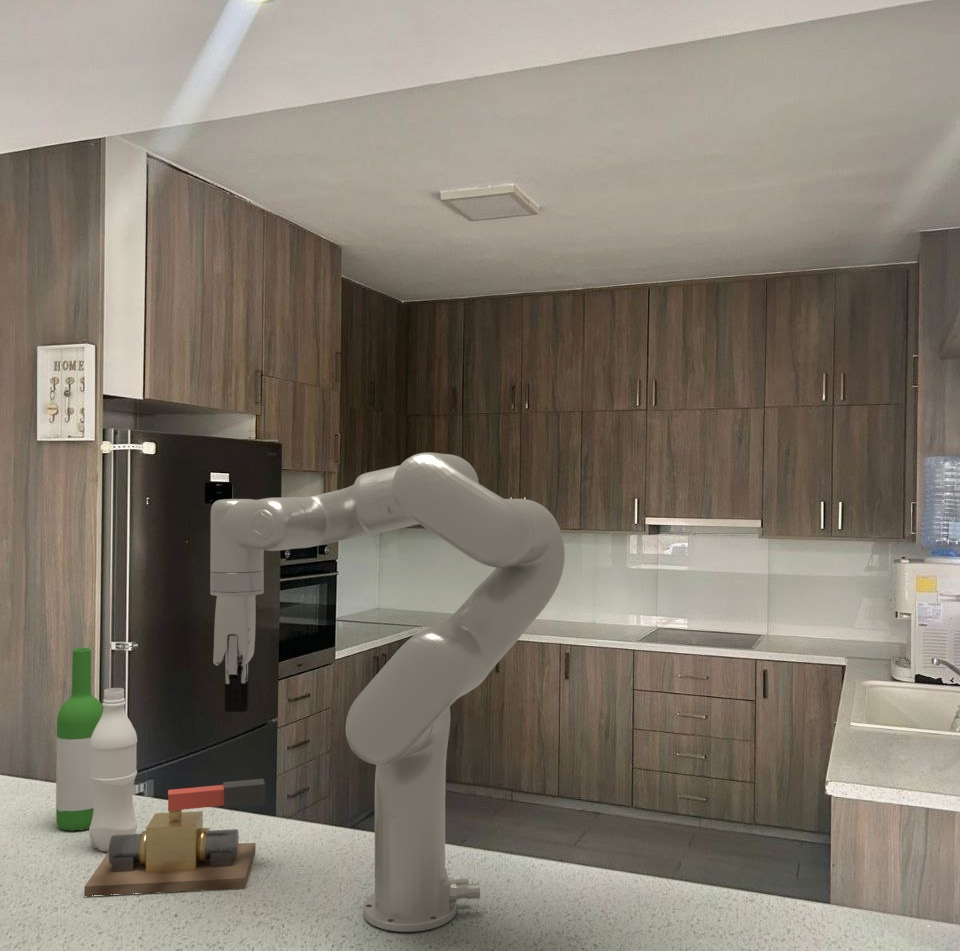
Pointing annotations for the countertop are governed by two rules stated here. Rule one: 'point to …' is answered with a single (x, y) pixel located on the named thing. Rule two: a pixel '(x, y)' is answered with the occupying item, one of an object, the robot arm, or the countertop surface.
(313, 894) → the countertop surface
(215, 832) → the ball valve
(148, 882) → the mounting board
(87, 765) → the wine bottle
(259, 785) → the valve lever
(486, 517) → the robot arm
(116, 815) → the water bottle
